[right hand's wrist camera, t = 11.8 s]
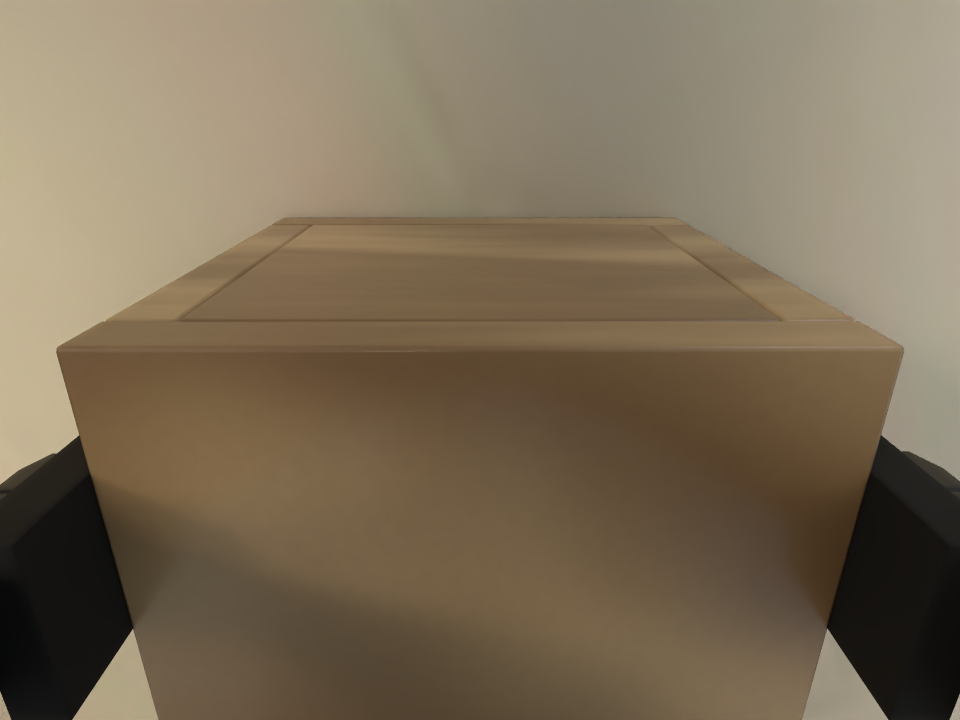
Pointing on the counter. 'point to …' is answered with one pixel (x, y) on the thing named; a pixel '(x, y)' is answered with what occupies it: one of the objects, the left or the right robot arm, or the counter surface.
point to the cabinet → (480, 472)
